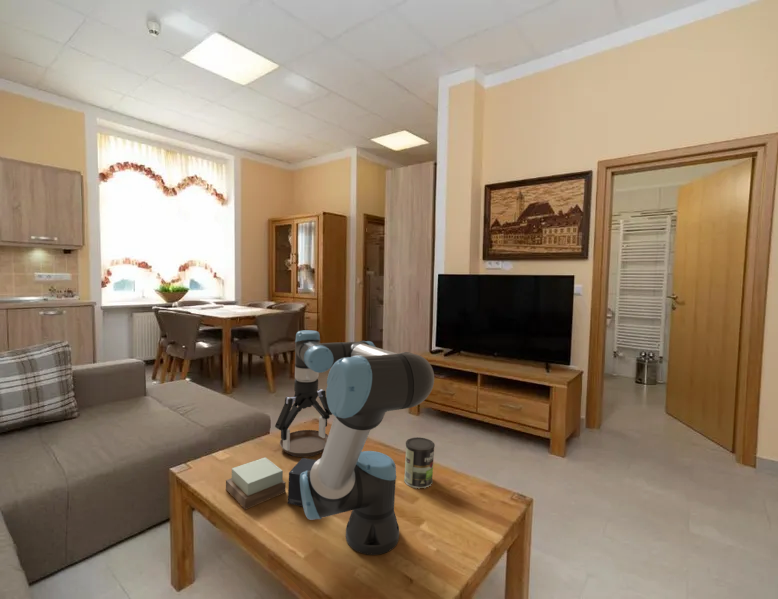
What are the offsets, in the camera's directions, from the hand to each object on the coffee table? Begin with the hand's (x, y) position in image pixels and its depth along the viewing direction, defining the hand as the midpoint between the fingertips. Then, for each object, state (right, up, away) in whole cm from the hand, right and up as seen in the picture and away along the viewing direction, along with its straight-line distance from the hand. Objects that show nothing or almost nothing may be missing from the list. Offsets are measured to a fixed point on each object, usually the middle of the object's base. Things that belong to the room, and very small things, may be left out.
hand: (304, 442), depth 127 cm
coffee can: (+38, -19, +14) cm, 45 cm away
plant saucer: (-7, -16, +36) cm, 40 cm away
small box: (-1, -18, +1) cm, 19 cm away
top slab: (-17, -14, +3) cm, 22 cm away
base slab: (-17, -18, +3) cm, 25 cm away
